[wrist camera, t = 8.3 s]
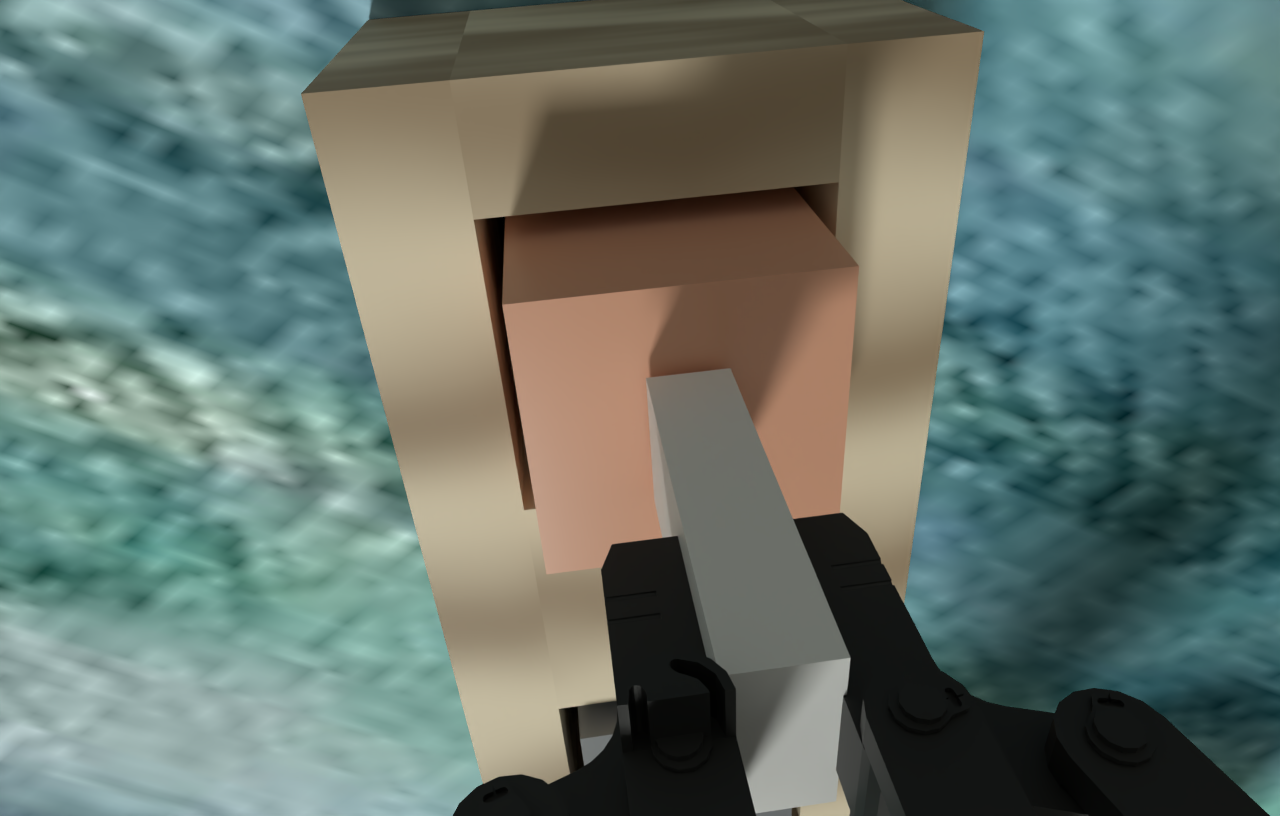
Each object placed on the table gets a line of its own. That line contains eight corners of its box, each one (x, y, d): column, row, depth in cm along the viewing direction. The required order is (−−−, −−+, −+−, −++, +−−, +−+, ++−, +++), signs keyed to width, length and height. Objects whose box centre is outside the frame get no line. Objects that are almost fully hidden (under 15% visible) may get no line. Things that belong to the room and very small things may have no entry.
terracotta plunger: (750, 350, 25) (838, 536, 18) (538, 375, 24) (546, 574, 18) (751, 137, 21) (859, 265, 15) (507, 161, 21) (501, 304, 14)
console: (804, 668, 36) (869, 852, 30) (515, 708, 36) (515, 906, 29) (843, -22, 22) (984, 31, 16) (368, 19, 21) (300, 93, 15)
